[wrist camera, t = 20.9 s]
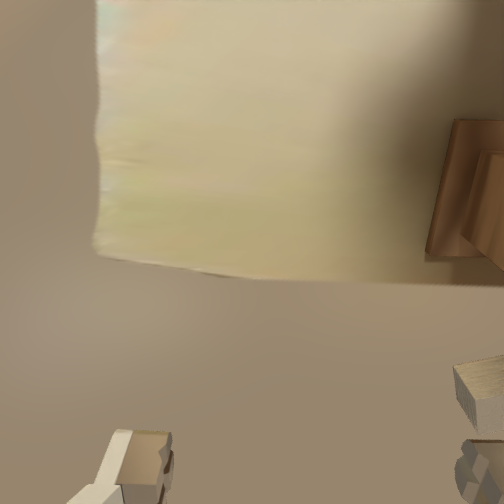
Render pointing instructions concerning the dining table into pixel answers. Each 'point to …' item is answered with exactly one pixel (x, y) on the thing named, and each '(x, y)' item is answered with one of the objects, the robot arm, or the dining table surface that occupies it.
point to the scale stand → (471, 194)
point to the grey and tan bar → (482, 393)
